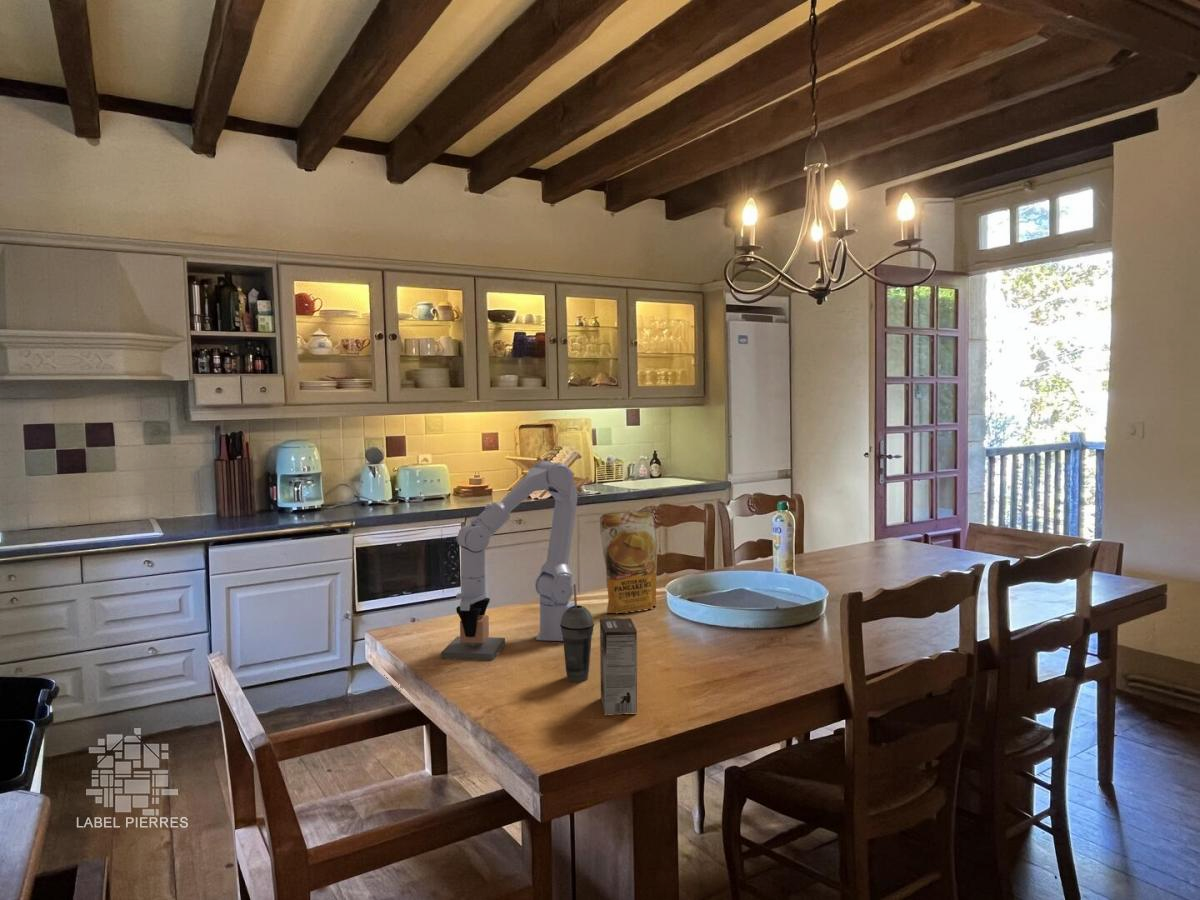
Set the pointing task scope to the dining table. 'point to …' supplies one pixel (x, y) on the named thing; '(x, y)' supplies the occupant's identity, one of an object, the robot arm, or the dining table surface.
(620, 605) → the pancake mix bag
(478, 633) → the collar
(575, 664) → the beverage cup
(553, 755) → the dining table surface
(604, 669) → the coffee box
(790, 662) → the dining table surface
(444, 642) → the dining table surface
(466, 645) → the post board
